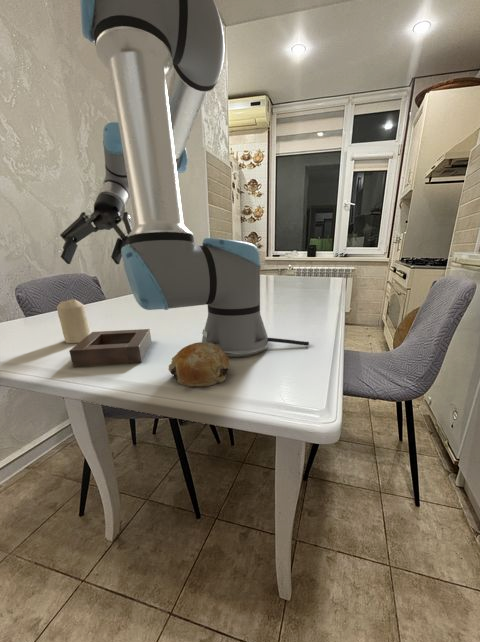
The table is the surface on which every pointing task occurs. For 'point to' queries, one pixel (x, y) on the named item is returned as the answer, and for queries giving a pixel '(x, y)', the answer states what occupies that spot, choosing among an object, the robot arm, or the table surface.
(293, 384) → the table surface
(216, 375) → the bread roll
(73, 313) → the candle
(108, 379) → the table surface
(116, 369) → the table surface
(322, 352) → the table surface
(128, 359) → the candle block
